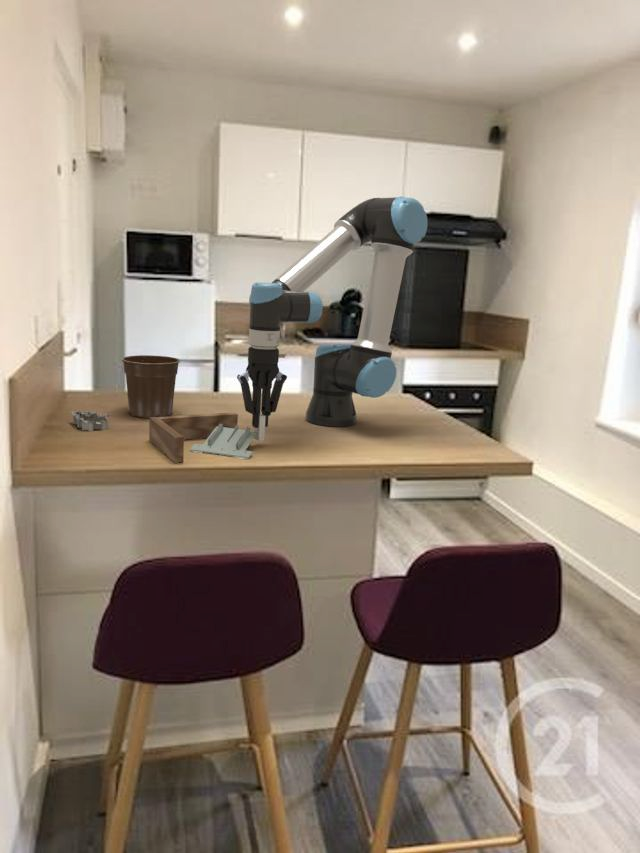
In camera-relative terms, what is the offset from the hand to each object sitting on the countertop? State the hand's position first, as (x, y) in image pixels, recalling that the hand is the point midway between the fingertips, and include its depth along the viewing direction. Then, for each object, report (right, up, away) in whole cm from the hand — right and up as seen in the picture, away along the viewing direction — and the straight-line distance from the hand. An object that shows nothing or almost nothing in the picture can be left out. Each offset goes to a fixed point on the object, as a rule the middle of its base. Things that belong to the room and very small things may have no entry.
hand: (259, 439), depth 174 cm
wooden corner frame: (-13, -2, -5) cm, 14 cm away
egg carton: (-46, +3, +8) cm, 47 cm away
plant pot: (-34, +7, +26) cm, 43 cm away
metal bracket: (-7, -3, -4) cm, 9 cm away
